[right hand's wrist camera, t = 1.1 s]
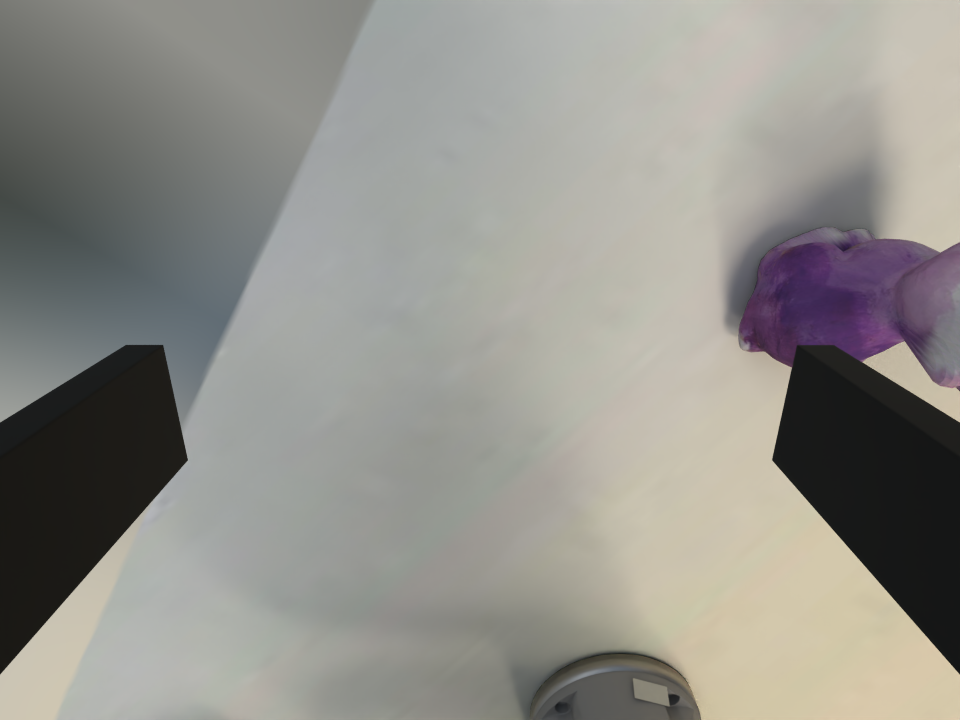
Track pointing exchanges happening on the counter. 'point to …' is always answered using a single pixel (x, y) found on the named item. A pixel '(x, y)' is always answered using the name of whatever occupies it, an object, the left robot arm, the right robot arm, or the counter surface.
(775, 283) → the figurine
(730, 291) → the counter surface
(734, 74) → the counter surface
